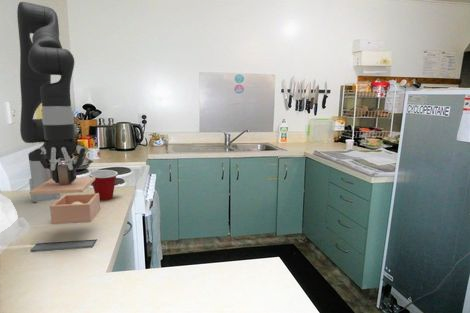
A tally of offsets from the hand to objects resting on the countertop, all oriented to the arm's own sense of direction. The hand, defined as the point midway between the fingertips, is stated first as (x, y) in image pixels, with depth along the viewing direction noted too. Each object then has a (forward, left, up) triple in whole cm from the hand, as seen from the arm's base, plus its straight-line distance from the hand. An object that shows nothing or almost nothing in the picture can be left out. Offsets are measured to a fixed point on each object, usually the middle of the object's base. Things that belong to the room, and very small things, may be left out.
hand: (64, 181), depth 87 cm
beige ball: (-3, +16, -17) cm, 23 cm away
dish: (-3, +16, -18) cm, 24 cm away
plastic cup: (+2, +34, -18) cm, 38 cm away
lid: (0, 0, -1) cm, 1 cm away
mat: (0, 0, -18) cm, 18 cm away
